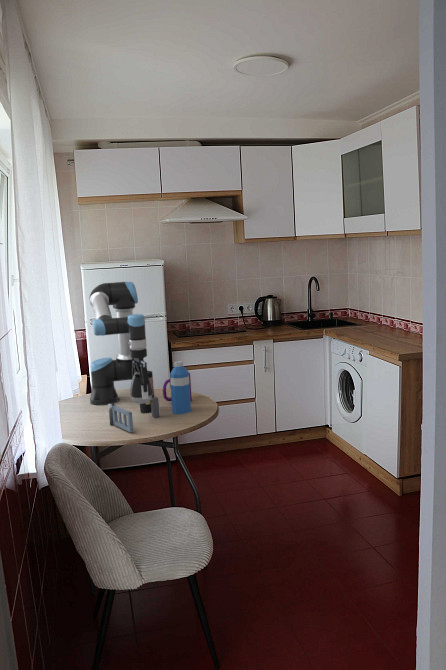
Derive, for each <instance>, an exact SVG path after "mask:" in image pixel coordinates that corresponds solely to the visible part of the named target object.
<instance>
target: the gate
mask: <svg viewBox="0 0 446 670" xmlns="http://www.w3.org/2000/svg"><path fill="white" fill-rule="evenodd" d="M114 405H115V404H114ZM112 411H113V423H114V425H113V426H116V427H118V428H120V429H123V430H125V431H127V432H128V433H134V420H133V412H132V411H130V410H127V409H125V408H123V407H120V406H118V405H115V406H112ZM122 415H123V416H122ZM122 417H123V420H122Z"/></svg>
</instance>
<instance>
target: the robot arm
mask: <svg viewBox="0 0 446 670" xmlns="http://www.w3.org/2000/svg"><path fill="white" fill-rule="evenodd" d="M88 298H89V304H90V306H91V307H92V308H93V313H94V317H95V319H94V320H92V327H93V334H94V335H95V336H99V337H100V336H101V337H104V336H111V335H117V347H118V353H117V354H116V356H115V359H113V358H112V357H103V358H102V357H101V358H99V359H95V360H93V361H92V362H91V363H90V373H91V374H90V377H91V387H92V388H91V392H90V397H89V401H90V402H89V403H90V404H91V405H93V406H95V405H96V406H100V405H101V406H104V405H108V404H109V403H114V404H115V403H118V401H119V394H118V393H117V390H116V388H115V382H120V381H123V382H124V381H132V378H133V375H134V373H135V372H136V371H137V370H138V371H139V373H140V378H141V382H142V384H141V388H142V399H149V398H148V384H149V378H148V372H147V371H148V364H147V362H146V361H145V359H144V358H146V357H148V350H147V334H146V319H145V315H144V314H143V313H134V314H133V310H134V309H135V308H136V304H138V303H139V299H138V293H137V289H136V285H135V283H134V282H132V281H117V282H115V281H114V282H103V283H100V284H98V285H97V286H95V287H94V288H93V289H92V290H91V292H90V294H89V297H88ZM110 306H112V309H113V310H114V311H115V315H116V317H113V316H112V313H111V310H110ZM145 381H146V382H145Z"/></svg>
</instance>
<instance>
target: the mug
mask: <svg viewBox="0 0 446 670" xmlns="http://www.w3.org/2000/svg"><path fill="white" fill-rule="evenodd" d="M169 383H171V382H170V378H169V379H166V380H165V382H164V383H163V386H162V395H163V398H164V400H165V401H166V402H172V397H168V396H167V387H168V386H167V385H168V384H169ZM189 384H190V401H191V402H192V401H193V400H192V399H193V396H192V383H191V372H189Z"/></svg>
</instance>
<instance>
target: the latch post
mask: <svg viewBox="0 0 446 670" xmlns="http://www.w3.org/2000/svg"><path fill="white" fill-rule="evenodd" d="M159 399H160V398H159V397H158V396H154V397H152V398H151V400H150V401H149V402H147V403H146V405H147V404H151V413H150V414H151V418H153V419H158V418H160V403H159Z"/></svg>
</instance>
